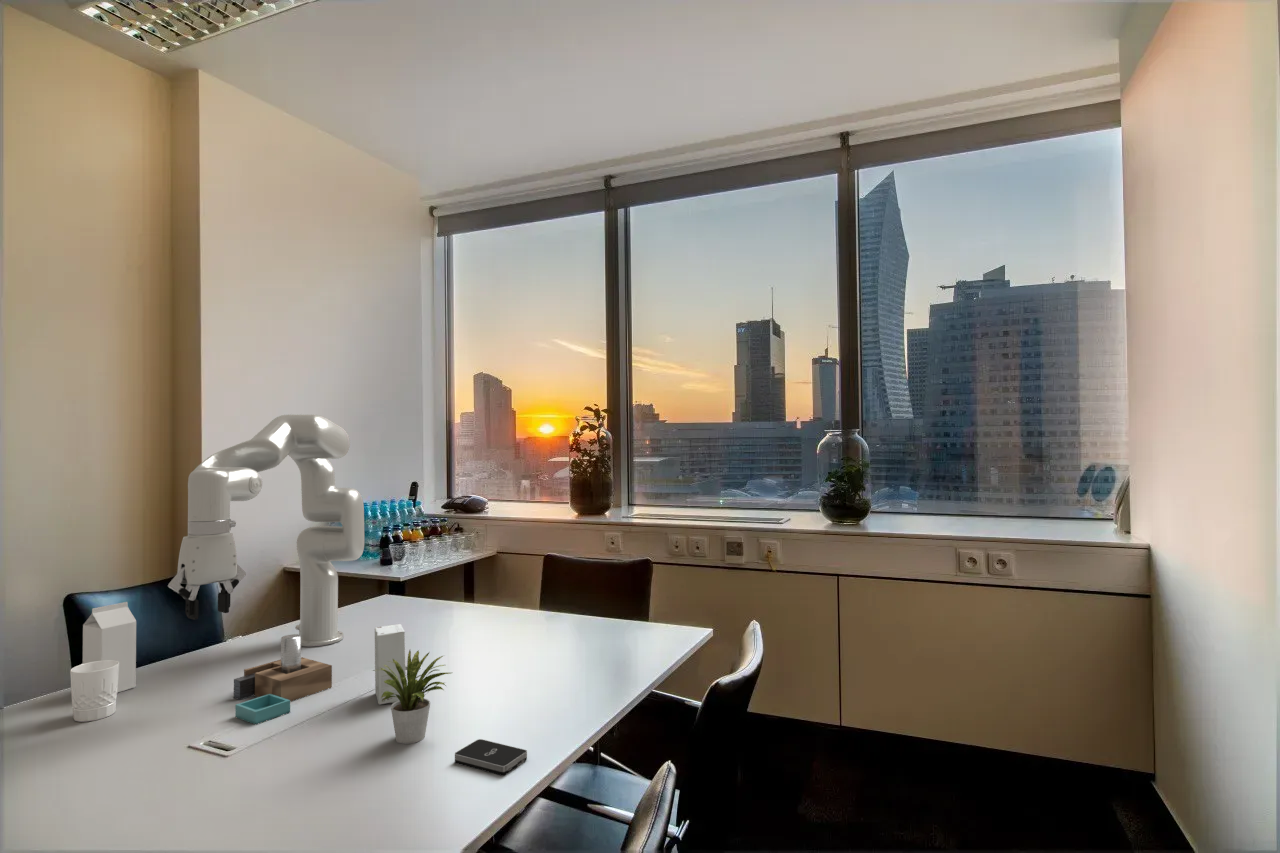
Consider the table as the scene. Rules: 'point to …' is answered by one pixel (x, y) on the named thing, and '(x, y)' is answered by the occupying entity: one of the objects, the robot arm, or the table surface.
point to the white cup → (94, 690)
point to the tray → (262, 708)
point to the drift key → (244, 686)
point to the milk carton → (112, 640)
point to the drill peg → (290, 653)
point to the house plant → (411, 699)
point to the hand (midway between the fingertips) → (208, 614)
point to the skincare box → (388, 659)
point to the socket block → (291, 679)
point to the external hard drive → (491, 757)
